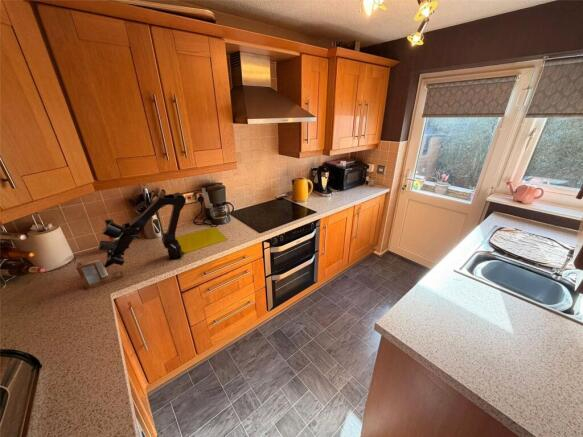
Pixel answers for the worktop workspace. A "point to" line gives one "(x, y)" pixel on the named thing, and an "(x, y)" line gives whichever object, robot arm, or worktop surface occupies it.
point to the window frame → (94, 275)
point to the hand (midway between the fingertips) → (105, 267)
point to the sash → (100, 267)
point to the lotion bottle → (106, 225)
